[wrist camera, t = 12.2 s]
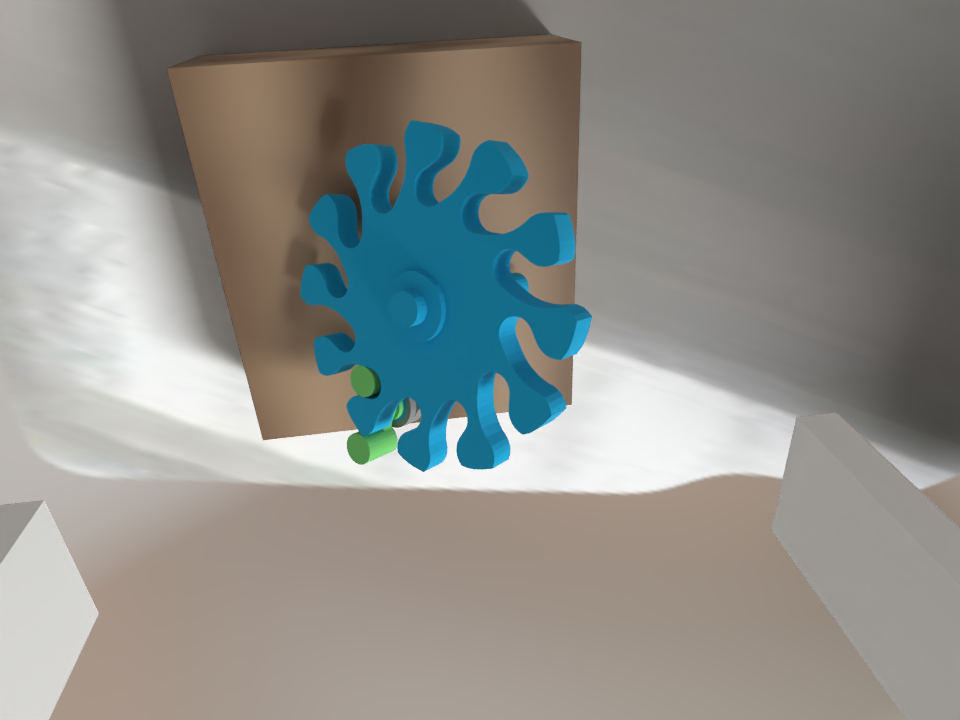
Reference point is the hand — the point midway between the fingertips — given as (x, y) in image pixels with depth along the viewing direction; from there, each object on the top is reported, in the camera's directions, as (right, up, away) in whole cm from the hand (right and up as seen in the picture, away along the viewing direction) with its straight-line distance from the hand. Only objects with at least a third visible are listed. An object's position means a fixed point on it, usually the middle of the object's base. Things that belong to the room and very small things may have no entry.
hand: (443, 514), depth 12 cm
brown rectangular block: (-3, +8, +14) cm, 16 cm away
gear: (-2, +6, +11) cm, 12 cm away
